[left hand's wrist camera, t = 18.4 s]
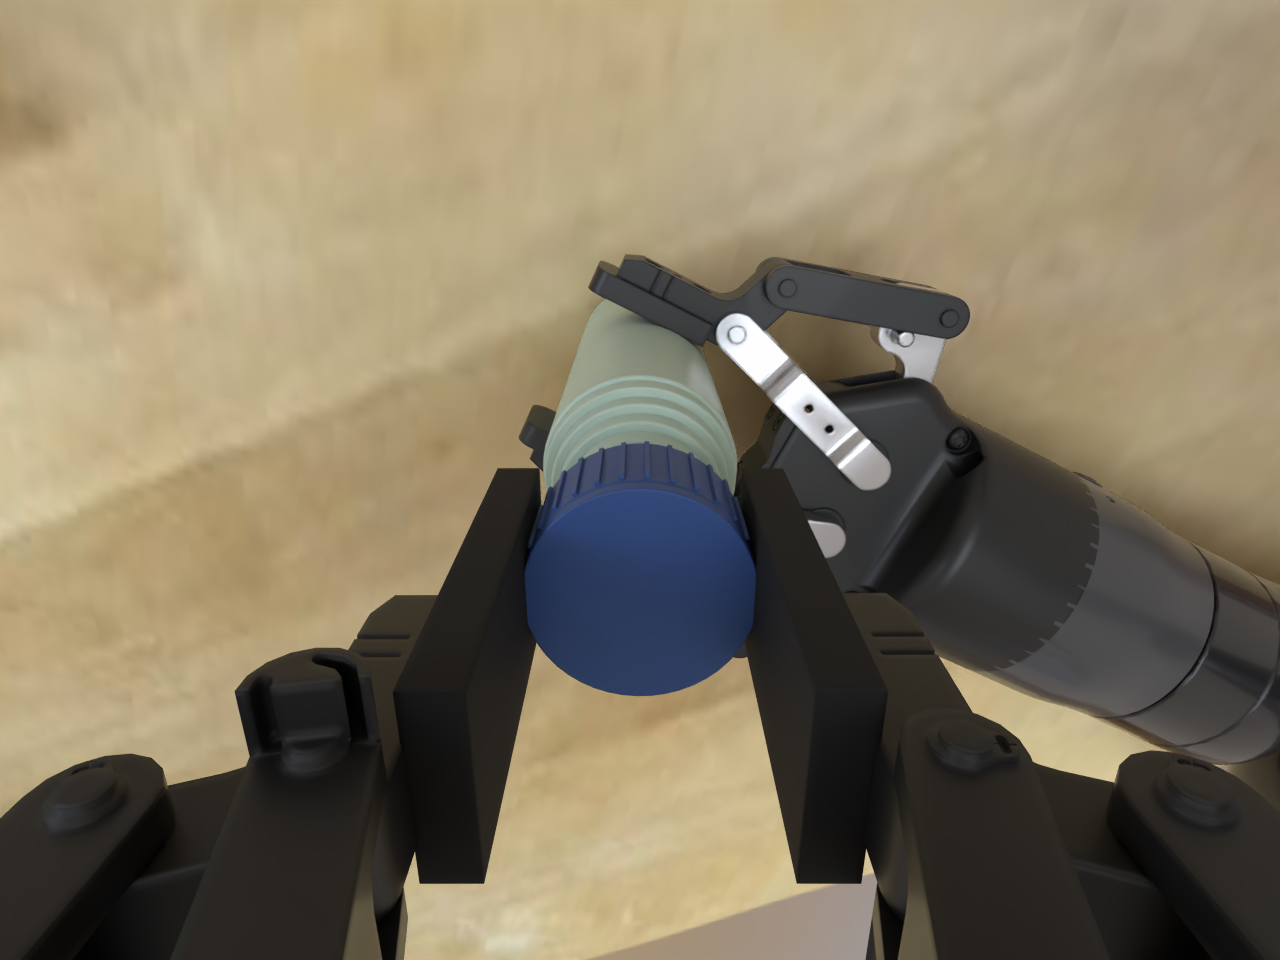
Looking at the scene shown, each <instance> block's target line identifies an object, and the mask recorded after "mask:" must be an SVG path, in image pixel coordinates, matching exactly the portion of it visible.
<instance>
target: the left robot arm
mask: <svg viewBox="0 0 1280 960" xmlns="http://www.w3.org/2000/svg"><path fill="white" fill-rule="evenodd" d="M540 505H541V491H540V472H539V468H498V469H497V471H496V473H495V476H494V478H493V480H492V482H491V484H490V486H489V488H488V490H487V493H486V495H485V497H484V499H483V501H482V503H481V505H480V507H479V510H478V512H477V514H476V516H475V518H474V520H473V522H472V524H471V526H470V529H469V531H468V533H467V535H466V537H465V539H464V541H463V543H462V546H461V548H460V550H459V552H458V554H457V556H456V558H455V560H454V563H453V565H452V567H451V569H450V571H449V573H448V575H447V577H446V580H445V582H444V584H443V586H442V588H441V590H440V592H439V594H438V595H395V596H394V597H392V598H391V599H390V600H388V601H387V602H386V603H384V604H383V605H381V606H380V607H379V608H377V609H376V610H375V611H373V612H372V613H371V614H370V615H369V617H368V618H367V620H366V622H365V623H364V625H363V627H362V628H361V630H360V632H359V633H358V635H357V639H355V640H354V641H353V643H352V645H351V646H350V648H349V650H345V649H341V648H313V649H308V650H303V651H298V652H293V653H289V654H287V655H284V656H282V657H279V658H277V659H274V660H272V661H269V662H267V663H265V664H264V665H262V666H261V667H259V668H258V669H257V670H255V671H254V672H252V673H251V674H249V675H248V676H246V678H245V679H244V680H243V682H242V683H241V684H240V685H239V687H238V688H237V689H236V690H235V695H236V699H237V704H238V708H239V712H240V716H241V721H242V725H243V729H244V734H245V738H246V742H247V747H248V751H249V755H250V758H249V760H248V763H247V765H246V766H245V767H243V768H240V769H236V770H233V771H229V772H226V773H223V774H218V775H214V776H209V777H205V778H200V779H196V780H191V781H187V782H182V783H178V784H173V785H169V786H168V785H167V782H166V778H165V775H164V771H163V768H162V767H161V766H160V765H158V764H157V763H156V762H155V761H154V760H153V759H152V758H149V757H145V756H140V755H135V754H122V755H111V756H103V757H100V758H97V759H93V760H90V761H86V762H83V763H80V764H77V765H74V766H72V767H70V768H68V769H66V770H64V771H62V772H60V773H58V774H56V775H54V776H52V777H50V778H48V779H46V780H45V781H44V782H42V783H41V784H40V785H38V786H37V787H36V788H34V789H33V790H32V791H30V792H29V793H28V794H26V795H25V796H24V797H23V798H21V799H20V800H19V801H18V802H17V803H16V804H15V805H14V806H13V807H12V808H11V809H10V810H9V811H8V812H7V813H6V814H5V815H3V816H2V817H1V818H0V960H404V952H405V942H406V932H407V922H408V915H407V908H406V901H405V894H404V888H403V886H404V883H405V880H406V877H407V874H408V871H409V868H410V865H411V862H412V859H413V856H414V853H415V854H416V861H417V868H418V875H419V882H420V884H484V881H485V877H486V872H487V868H488V863H489V858H490V854H491V849H492V845H493V840H494V835H495V831H496V826H497V822H498V817H499V812H500V808H501V803H502V799H503V794H504V789H505V785H506V780H507V776H508V771H509V766H510V762H511V757H512V753H513V748H514V743H515V739H516V734H517V730H518V725H519V720H520V716H521V711H522V707H523V702H524V697H525V693H526V688H527V684H528V679H529V674H530V670H531V665H532V661H533V656H534V651H535V647H536V640H535V638H534V637H533V635H532V633H531V631H530V629H529V626H528V620H527V604H526V588H525V565H526V562H527V559H528V555H529V551H530V549H528V543H529V539H530V536H531V533H532V529H533V526H534V522H535V519H536V516H537V512H538V509H539V506H540ZM740 506H741V509H742V513H743V516H744V519H745V523H746V526H747V529H748V533H749V536H750V539H749V540H748V542H749V545H750V549H751V552H752V556H753V559H754V563H755V566H756V586H755V602H754V618H753V626H752V629H751V631H750V633H749V635H748V637H747V639H746V640H745V642H744V643H745V647H746V652H747V657H748V661H749V666H750V670H751V675H752V680H753V684H754V689H755V693H756V698H757V703H758V707H759V712H760V716H761V721H762V726H763V730H764V735H765V739H766V744H767V749H768V753H769V758H770V762H771V767H772V772H773V776H774V781H775V785H776V790H777V795H778V799H779V804H780V808H781V813H782V818H783V822H784V827H785V831H786V836H787V841H788V845H789V850H790V854H791V859H792V864H793V868H794V873H795V877H796V882H797V884H861V881H862V874H863V867H864V860H865V853H866V849H867V852H868V855H869V858H870V861H871V864H872V867H873V870H874V873H875V876H876V879H877V888H876V895H875V901H874V908H873V914H872V921H871V928H870V934H869V940H868V947H867V954H866V960H1280V812H1278V811H1277V810H1276V809H1275V808H1274V807H1273V806H1272V805H1271V804H1270V803H1269V802H1268V801H1267V800H1266V799H1265V798H1264V797H1263V796H1262V795H1260V794H1259V793H1258V792H1256V791H1255V790H1254V789H1252V788H1251V787H1250V786H1248V785H1247V784H1246V783H1244V782H1243V781H1242V780H1240V779H1239V778H1238V777H1236V776H1235V775H1233V774H1231V773H1229V772H1227V771H1225V770H1223V769H1221V768H1219V767H1217V766H1215V765H1213V764H1211V763H1208V762H1206V761H1203V760H1200V759H1197V758H1193V757H1191V756H1186V755H1183V754H1179V753H1173V752H1162V751H1146V752H1141V753H1136V754H1132V755H1130V756H1129V757H1128V758H1127V759H1126V760H1124V761H1123V762H1122V763H1121V764H1120V765H1119V768H1118V772H1117V775H1116V779H1115V782H1114V783H1113V782H1109V781H1104V780H1100V779H1095V778H1091V777H1086V776H1082V775H1077V774H1073V773H1068V772H1064V771H1059V770H1056V769H1053V768H1049V767H1046V766H1042V765H1039V764H1036V763H1034V762H1033V761H1032V759H1031V756H1030V755H1029V753H1028V752H1027V750H1026V749H1025V747H1024V746H1023V744H1022V743H1021V741H1020V740H1019V739H1018V738H1017V737H1016V736H1014V735H1013V734H1012V733H1010V732H1009V731H1008V730H1007V729H1005V728H1004V727H1003V726H1001V725H1000V724H998V723H996V722H993V721H991V720H989V719H987V718H985V717H982V716H980V715H978V714H975V713H973V712H972V711H971V709H970V707H969V706H968V704H967V702H966V701H965V699H964V697H963V696H962V694H961V692H960V691H959V689H958V688H957V686H956V684H955V683H954V681H953V679H952V678H951V676H950V674H949V673H948V671H947V669H946V668H945V666H944V665H943V663H942V661H941V660H940V658H939V656H938V655H935V650H934V648H933V646H932V645H931V643H930V642H929V640H928V638H927V637H924V632H923V630H922V628H921V627H920V625H919V623H918V622H917V620H916V619H915V617H914V615H913V614H912V612H911V611H910V610H909V609H907V608H906V607H905V606H903V605H902V604H900V603H899V602H898V601H896V600H895V599H894V598H892V597H891V596H890V595H888V594H887V593H842V592H841V590H840V588H839V586H838V584H837V582H836V580H835V577H834V575H833V573H832V571H831V569H830V567H829V565H828V563H827V560H826V558H825V556H824V554H823V552H822V550H821V548H820V546H819V544H818V541H817V539H816V537H815V535H814V533H813V531H812V529H811V527H810V524H809V522H808V520H807V518H806V516H805V514H804V512H803V510H802V508H801V505H800V503H799V501H798V499H797V497H796V495H795V493H794V491H793V488H792V486H791V484H790V482H789V480H788V478H787V476H786V474H785V472H784V469H783V468H742V470H741V489H740Z"/></svg>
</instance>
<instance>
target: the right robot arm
mask: <svg viewBox="0 0 1280 960" xmlns="http://www.w3.org/2000/svg"><path fill="white" fill-rule="evenodd" d="M588 288H589V289H590V290H591V291H593V292H594V293H596V294H598V295H599V296H601V297H603V298H605V299H607V300H609V301H611V302H613V303H615V304H617V305H619V306H621V307H623V308H625V309H627V310H629V311H631V312H633V313H635V314H637V315H639V316H641V317H643V318H645V319H647V320H649V321H651V322H653V323H655V324H657V325H659V326H661V327H663V328H665V329H668V330H670V331H672V332H674V333H676V334H678V335H680V336H681V337H683V338H685V339H687V340H689V341H691V342H693V343H695V344H697V345H699V346H701V347H703V345H704V343H705V341H706V340H708V341H710V342H712V343H714V344H716V345H718V346H719V347H720V348H721V349H722V350H723V351H724V352H725V353H726V354H727V355H728V356H729V357H730V358H731V359H732V360H733V361H734V362H735V363H736V364H737V365H738V366H739V367H740V368H741V369H742V370H743V371H744V372H745V373H746V374H747V375H748V376H749V377H750V378H751V379H752V380H753V381H754V382H755V383H756V384H757V385H758V386H759V387H760V388H761V389H762V390H763V392H764V393H765V394H766V395H767V396H768V397H769V399H770V400H771V401H772V402H773V403H772V405H771V407H770V409H769V410H768V412H767V414H766V416H765V419H764V422H763V426H762V430H761V433H760V437H759V439H758V441H757V442H756V443H755V444H754V445H753V446H752V447H751V448H750V449H749V450H748V451H747V452H746V453H745V454H744V455H743V456H742V457H741V459H740V461H739V462H738V464H737V476H736V483H735V491H734V495H733V496H734V497H736V496H737V497H738V499H739V502H740V489H741V470H742V468H783V469H784V472H785V474H786V476H787V478H788V480H789V482H790V484H791V486H792V488H793V491H794V493H795V495H796V497H797V499H798V501H799V503H800V505H801V508H802V510H803V512H804V514H805V516H806V518H807V520H808V522H809V524H810V527H811V529H812V531H813V533H814V535H815V537H816V539H817V541H818V544H819V546H820V548H821V550H822V552H823V554H824V556H825V558H826V560H827V563H828V565H829V567H830V569H831V571H832V573H833V575H834V577H835V580H836V582H837V584H838V586H839V588H840V590H841V592H842V593H887V594H888V595H890V596H891V597H892V598H894V599H895V600H896V601H898V602H899V603H900V604H902V605H903V606H905V607H906V608H907V609H909V610H910V611H911V612H912V614H913V615H914V617H915V619H916V620H917V622H918V623H919V625H920V627H921V628H922V630H923V632H924V637H927V638H928V640H929V642H930V643H931V645H932V646H933V648H934V650H935V655H938V656H940V657H942V658H944V659H946V660H948V661H951V662H953V663H955V664H957V665H960V666H962V667H964V668H967V669H969V670H971V671H973V672H975V673H978V674H980V675H982V676H984V677H987V678H989V679H991V680H993V681H995V682H998V683H1000V684H1002V685H1004V686H1007V687H1009V688H1011V689H1013V690H1016V691H1018V692H1020V693H1023V694H1025V695H1028V696H1030V697H1033V698H1036V699H1039V700H1042V701H1046V702H1049V703H1053V704H1057V705H1061V706H1064V707H1068V708H1071V709H1074V710H1077V711H1079V712H1082V713H1084V714H1086V715H1089V716H1091V717H1093V718H1095V719H1097V720H1100V721H1102V722H1104V723H1106V724H1108V725H1111V726H1113V727H1115V728H1117V729H1120V730H1122V731H1124V732H1126V733H1128V734H1131V735H1133V736H1135V737H1138V738H1139V739H1142V740H1144V741H1146V742H1149V743H1151V744H1153V745H1155V746H1157V747H1159V748H1161V749H1164V750H1166V751H1168V752H1173V753H1179V754H1183V755H1186V756H1191V757H1193V758H1197V759H1200V760H1203V761H1206V762H1208V763H1211V764H1214V765H1227V767H1226V771H1227V772H1229V773H1231V774H1233V775H1235V776H1236V777H1238V778H1239V779H1240V780H1242V781H1243V782H1244V783H1246V784H1247V785H1248V786H1250V787H1251V788H1252V789H1254V790H1255V791H1256V792H1258V793H1259V794H1260V795H1262V796H1263V797H1264V798H1265V799H1266V800H1267V801H1268V802H1269V803H1270V804H1271V805H1272V806H1273V807H1274V808H1275V809H1276V810H1277V811H1278V812H1280V584H1277V583H1274V582H1272V581H1269V580H1267V579H1264V578H1262V577H1260V576H1257V575H1255V574H1253V573H1251V572H1249V571H1247V570H1245V569H1243V568H1241V567H1239V566H1237V565H1235V564H1233V563H1231V562H1229V561H1227V560H1226V559H1224V558H1222V557H1220V556H1218V555H1216V554H1214V553H1212V552H1210V551H1208V550H1206V549H1204V548H1202V547H1200V546H1198V545H1196V544H1194V543H1192V542H1190V541H1188V540H1186V539H1184V538H1182V537H1180V536H1179V535H1177V534H1175V533H1174V532H1172V531H1170V530H1169V529H1168V528H1166V527H1165V526H1163V525H1162V524H1161V523H1159V522H1158V521H1157V520H1156V519H1154V518H1153V517H1152V516H1150V515H1149V514H1147V513H1146V512H1144V511H1143V510H1142V509H1140V508H1139V507H1137V506H1135V505H1134V504H1132V503H1130V502H1128V501H1127V500H1125V499H1123V498H1121V497H1119V496H1117V495H1115V494H1113V493H1111V492H1109V491H1107V490H1105V489H1104V488H1103V487H1102V486H1101V485H1100V484H1098V483H1097V482H1096V481H1095V480H1093V479H1091V478H1089V477H1087V476H1085V475H1082V474H1079V473H1076V472H1070V471H1069V470H1067V469H1065V468H1063V467H1061V466H1059V465H1057V464H1055V463H1053V462H1051V461H1049V460H1047V459H1045V458H1043V457H1041V456H1039V455H1037V454H1035V453H1033V452H1031V451H1029V450H1028V449H1026V448H1024V447H1022V446H1020V445H1018V444H1016V443H1014V442H1012V441H1010V440H1008V439H1006V438H1004V437H1002V436H1000V435H998V434H996V433H994V432H993V431H991V430H989V429H987V428H985V427H983V426H981V425H979V424H977V423H975V422H973V421H971V420H969V419H967V418H965V417H963V416H961V415H959V414H958V413H956V412H954V411H952V410H951V409H950V408H949V406H948V405H947V403H946V402H945V400H944V398H943V396H942V394H941V393H940V391H939V390H938V389H937V388H936V387H935V386H934V385H933V384H932V382H933V379H934V376H935V373H936V370H937V367H938V364H939V360H940V357H941V354H942V351H943V348H944V345H945V342H946V339H950V338H953V337H956V336H958V335H959V334H960V333H962V332H963V331H964V329H965V328H966V327H967V325H968V322H969V318H970V312H969V308H968V306H967V304H966V303H965V302H964V301H963V300H961V299H959V298H957V297H955V296H952V295H950V294H947V293H945V292H942V291H940V290H937V289H935V288H933V287H930V286H927V285H922V284H916V283H911V282H906V281H900V280H895V279H890V278H885V277H879V276H874V275H869V274H863V273H858V272H853V271H847V270H842V269H837V268H832V267H826V266H821V265H816V264H810V263H805V262H800V261H795V260H789V259H784V258H779V257H772V258H768V259H766V260H764V261H763V262H762V263H761V264H760V265H759V266H758V268H757V270H756V272H755V273H754V274H753V275H752V276H751V277H750V278H749V279H748V280H747V281H746V282H745V283H744V284H742V285H741V286H740V287H739V288H738V289H736V290H734V291H732V292H729V293H716V292H713V291H711V290H709V289H707V288H705V287H703V286H701V285H699V284H697V283H695V282H693V281H691V280H690V279H688V278H686V277H684V276H682V275H680V274H678V273H676V272H674V271H672V270H670V269H668V268H666V267H664V266H662V265H660V264H658V263H656V262H654V261H653V260H651V259H649V258H647V257H645V256H640V255H628V254H625V257H624V259H623V261H622V263H621V265H620V267H619V268H618V267H616V266H614V265H612V264H609V263H607V262H604V261H600V263H599V265H598V267H597V269H596V271H595V273H594V276H593V278H592V280H591V282H590V284H589V287H588ZM787 310H789V311H795V312H800V313H806V314H811V315H816V316H822V317H827V318H833V319H838V320H843V321H849V322H854V323H860V324H865V325H871V327H870V334H871V337H872V339H873V341H874V342H875V343H876V344H877V345H878V346H880V347H881V348H883V349H884V350H885V351H887V352H889V353H891V354H893V355H894V357H895V360H896V368H895V370H892V371H886V372H880V373H874V374H867V375H861V376H855V377H849V378H843V379H836V380H830V381H824V382H818V383H817V382H816V381H815V380H814V379H813V378H812V377H811V376H810V375H809V374H808V373H807V372H806V371H805V369H804V368H803V367H802V366H801V365H800V364H799V363H798V362H797V361H796V360H795V359H794V358H793V357H792V356H791V355H790V354H789V353H788V352H787V351H786V350H785V349H784V348H783V347H782V346H781V345H780V344H779V343H778V342H777V341H776V340H775V339H774V338H773V337H772V336H771V335H770V334H769V333H768V332H767V331H766V329H767V328H768V327H769V326H770V325H772V324H773V323H774V322H775V321H776V320H777V319H778V318H779V317H780V316H782V315H783V314H784V313H785V312H786V311H787ZM555 415H556V412H555V411H553V410H550V409H548V408H546V407H543V406H539V405H534V406H533V407H532V409H531V411H530V413H529V415H528V417H527V420H526V422H525V424H524V426H523V428H522V431H521V433H520V435H519V439H520V441H521V442H522V443H524V444H525V445H527V446H528V447H530V448H532V449H533V452H532V455H531V457H530V459H531V460H532V461H533V462H534V463H535V464H536V465H537V466H538V467H539V468H540V469H541V470H542V471H543V459H544V451H545V445H546V442H547V439H548V436H549V433H550V430H551V427H552V424H553V421H554V418H555ZM733 657H735V658H744V657H747V652H746V647H745V643H743V645H742V646H741V648H740V649H739V651H738V652H737V653H736V654H735V655H734V656H733Z"/></svg>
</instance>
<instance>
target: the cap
mask: <svg viewBox="0 0 1280 960" xmlns="http://www.w3.org/2000/svg"><path fill="white" fill-rule="evenodd" d="M749 539H750V536H749V533H748V529H747V526H746V523H745V519H744V516H743V513H742V509H741V506H740V502H739V499H738V497H737V496H736V497H734V496H733V495H732V493H731V491H730V489H729V485H728V482H727V480H726V479H724V480H722V479H721V478H720V477H719V476H718V475H717V474H716V473H715V472H714V471H713V467H712V466H711V465H710V464H708V465H706V464H704V463H703V462H701V461H700V460H698V459H697V458H695V457H694V454H693V453H691V452H689V454H687V453H685V452H682V451H680V450H677V449H674V448H672V445H669V444H668V445H667V447H666V446H662V445H656V444H649V441H645V443H639V444H626V442H622V443H621V445H619V446H614V447H610V448H607V449H604V448H603V447H602V448H599V452H596V453H594V454H592V455H589V456H588V457H586V458H583V457H581V458H579V459H578V463H576V464H575V465H574V466H573V467H571V468H570V469H569V470H567V471H565V470H564V471H562V472H561V476H560V479H559V480H558V481H557V482H556V484H555V485H554V486H553V488H552V487H551V486H550V487H549V488H548V490H547V494H546V497H545V501H544V504H543V505H540V506H539V509H538V512H537V516H536V519H535V522H534V526H533V529H532V533H531V536H530V539H529V543H528V549H530V551H529V555H528V559H527V562H526V565H525V588H526V604H527V620H528V626H529V629H530V631H531V633H532V635H533V637H534V638H535V640H536V642H537V644H538V645H539V647H540V648H541V649H542V650H543V652H544V653H545V654H546V656H547V657H548V658H549V659H550V660H551V661H552V662H553V663H554V664H555V665H556V666H557V667H559V668H560V669H561V670H563V671H564V672H565V673H567V674H568V675H570V676H571V677H573V678H575V679H576V680H578V681H580V682H582V683H584V684H586V685H589V686H591V687H593V688H596V689H599V690H603V691H606V692H610V693H615V694H620V695H630V696H653V695H660V694H667V693H671V692H675V691H679V690H682V689H685V688H687V687H690V686H693V685H695V684H697V683H699V682H701V681H703V680H705V679H707V678H708V677H710V676H711V675H713V674H714V673H716V672H717V671H718V670H720V669H721V668H722V667H723V666H724V665H725V664H727V663H728V662H729V661H730V660H731V659H732V657H733V656H734V655H735V654H736V653H737V652H738V651H739V649H740V648H741V646H742V645H743V643H744V642H745V640H746V639H747V637H748V635H749V633H750V631H751V629H752V626H753V618H754V602H755V586H756V566H755V563H754V559H753V556H752V552H751V549H750V545H749V542H748V540H749Z"/></svg>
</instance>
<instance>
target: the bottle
mask: <svg viewBox="0 0 1280 960" xmlns="http://www.w3.org/2000/svg"><path fill="white" fill-rule="evenodd" d="M645 441H649V444H656V445H662V446H666V447H667V445H668V444H669V445H672V448H674V449H677V450H680V451H682V452H685V453H687V454H689V452H691V453H693V454H694V457H695V458H697V459H698V460H700V461H701V462H703V463H704V464H706V465H708V464H710V465H711V466H712V467H713V471H714V472H715V473H716V474H717V475H718V476H719V477H720V478H721V479H722V480H724V479H726V480H727V482H728V485H729V489H730V491H731V493H732V495H734V491H735V483H736V476H737V454H736V448H735V444H734V440H733V437H732V434H731V431H730V428H729V425H728V422H727V420H726V417H725V414H724V411H723V408H722V405H721V402H720V399H719V396H718V393H717V391H716V388H715V385H714V382H713V379H712V376H711V373H710V370H709V367H708V364H707V362H706V359H705V356H704V353H703V350H702V347H701V346H699V345H697V344H695V343H693V342H691V341H689V340H687V339H685V338H683V337H681V336H680V335H678V334H676V333H674V332H672V331H670V330H668V329H665V328H663V327H661V326H659V325H657V324H655V323H653V322H651V321H649V320H647V319H645V318H643V317H641V316H639V315H637V314H635V313H633V312H631V311H629V310H627V309H625V308H623V307H621V306H619V305H617V304H615V303H613V302H611V301H609V300H607V299H604V300H603V301H602V302H601V303H600V304H599V305H598V306H597V307H596V308H595V310H594V311H593V313H592V314H591V316H590V318H589V320H588V322H587V324H586V327H585V330H584V333H583V336H582V339H581V342H580V345H579V348H578V351H577V354H576V357H575V360H574V362H573V365H572V368H571V371H570V374H569V377H568V380H567V383H566V386H565V389H564V392H563V395H562V398H561V401H560V403H559V406H558V409H557V412H556V415H555V418H554V421H553V424H552V427H551V430H550V433H549V436H548V439H547V442H546V445H545V451H544V459H543V471H544V480H545V487H546V493H547V490H548V488H549V487H550V486H551V487H552V488H553V486H554V485H555V484H556V482H557V481H558V480H559V479H560V476H561V472H562V471H564V470H565V471H567V470H569V469H570V468H571V467H573V466H574V465H575V464H576V463H578V459H579V458H581V457H583V458H586V457H588V456H589V455H592V454H594V453H596V452H599V448H602V447H603V448H604V449H607V448H610V447H614V446H619V445H621V443H622V442H626V444H639V443H645Z"/></svg>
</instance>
